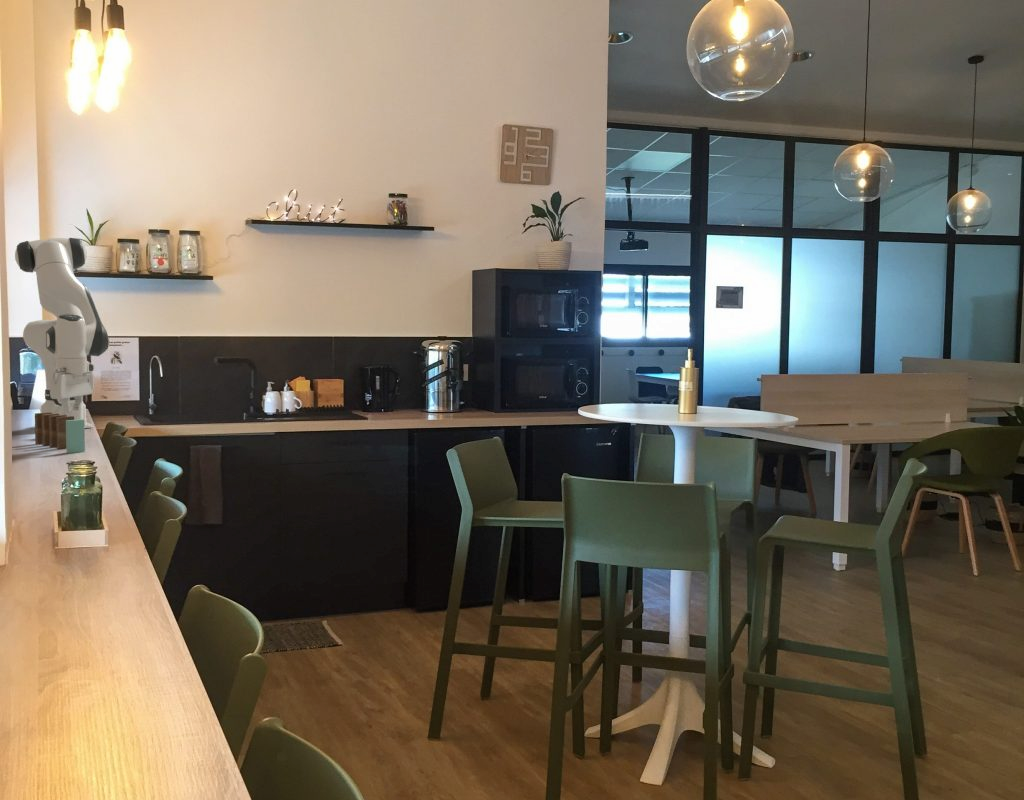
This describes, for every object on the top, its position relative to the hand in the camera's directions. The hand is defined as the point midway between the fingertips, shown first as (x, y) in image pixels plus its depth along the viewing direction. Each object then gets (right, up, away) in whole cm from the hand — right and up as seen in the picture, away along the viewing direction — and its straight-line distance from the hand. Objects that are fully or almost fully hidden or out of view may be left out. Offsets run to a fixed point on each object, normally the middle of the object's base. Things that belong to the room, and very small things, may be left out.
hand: (72, 411), depth 317 cm
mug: (-15, -9, +30) cm, 35 cm away
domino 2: (-11, -11, +10) cm, 19 cm away
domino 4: (-4, -12, +5) cm, 13 cm away
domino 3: (-8, -11, +7) cm, 15 cm away
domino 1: (-15, -11, +13) cm, 22 cm away
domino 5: (+2, -13, -3) cm, 13 cm away
